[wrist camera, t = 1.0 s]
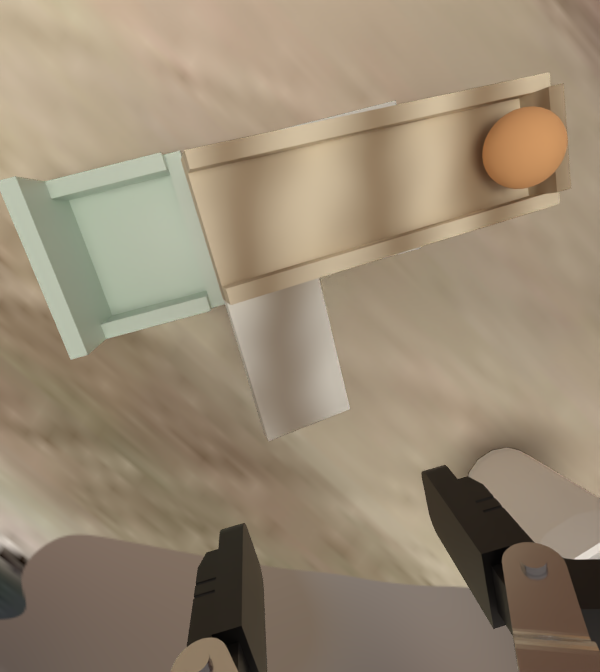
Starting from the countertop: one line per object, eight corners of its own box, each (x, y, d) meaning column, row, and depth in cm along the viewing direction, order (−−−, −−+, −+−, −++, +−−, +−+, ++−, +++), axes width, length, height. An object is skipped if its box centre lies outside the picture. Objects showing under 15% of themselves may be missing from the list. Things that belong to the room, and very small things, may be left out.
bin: (185, 155, 30) (167, 138, 23) (227, 297, 33) (222, 318, 26) (52, 189, 30) (-4, 181, 23) (107, 329, 32) (70, 359, 26)
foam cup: (460, 429, 38) (564, 534, 26) (559, 431, 39) (706, 532, 27) (442, 526, 40) (530, 664, 28) (537, 525, 42) (661, 657, 29)
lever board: (491, 96, 28) (562, 66, 23) (517, 320, 32) (581, 334, 27) (178, 166, 23) (185, 146, 18) (255, 419, 27) (278, 457, 23)
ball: (524, 110, 25) (584, 88, 22) (531, 183, 26) (589, 174, 23) (462, 125, 25) (513, 105, 21) (471, 199, 26) (522, 193, 22)
